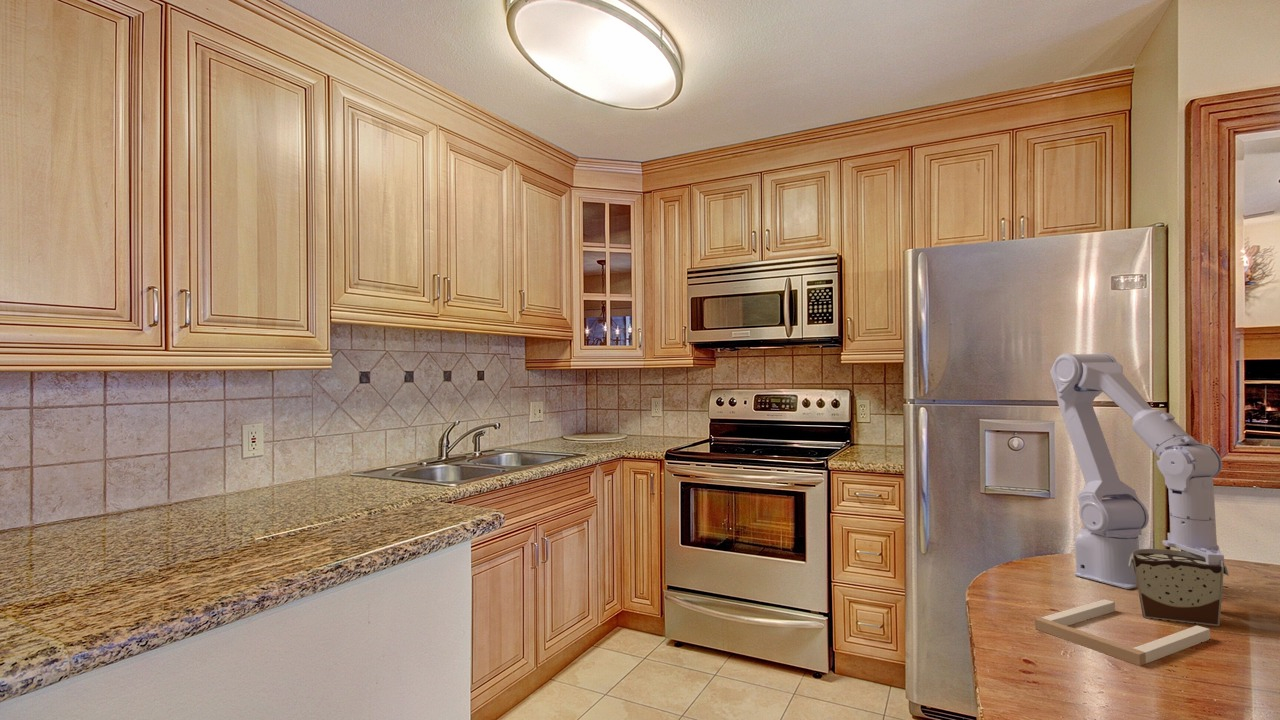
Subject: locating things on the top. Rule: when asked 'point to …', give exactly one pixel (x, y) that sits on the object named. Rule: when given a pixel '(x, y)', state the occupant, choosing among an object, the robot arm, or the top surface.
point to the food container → (1178, 586)
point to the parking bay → (1137, 655)
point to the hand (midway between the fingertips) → (1196, 598)
